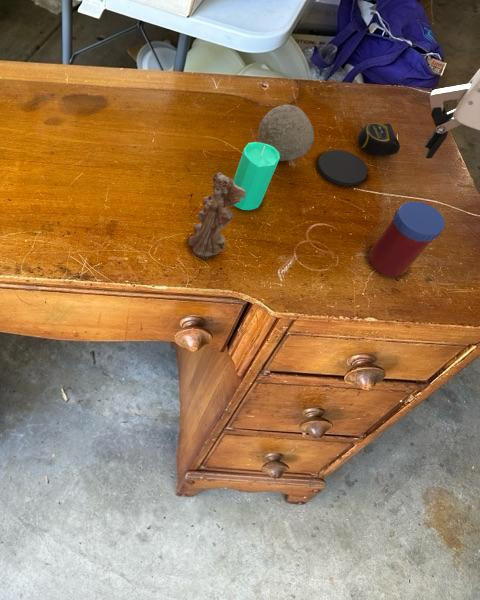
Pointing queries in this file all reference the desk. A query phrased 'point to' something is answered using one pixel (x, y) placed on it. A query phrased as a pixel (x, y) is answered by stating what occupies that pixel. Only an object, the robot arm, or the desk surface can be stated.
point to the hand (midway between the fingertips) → (461, 163)
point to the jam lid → (419, 221)
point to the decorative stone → (287, 131)
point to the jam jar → (395, 252)
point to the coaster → (342, 167)
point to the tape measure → (378, 139)
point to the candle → (255, 173)
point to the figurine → (215, 216)
